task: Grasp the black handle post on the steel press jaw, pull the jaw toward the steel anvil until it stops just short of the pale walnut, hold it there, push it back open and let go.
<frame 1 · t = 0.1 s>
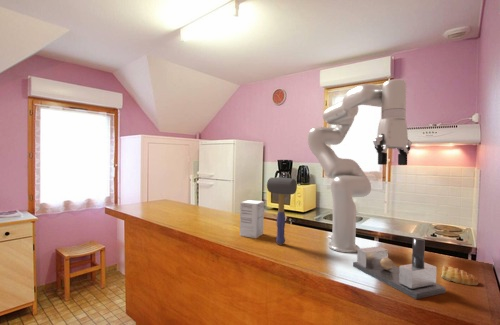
hand: (392, 164, 93), 37 cm above the countertop, tool pointing down, fingers open, 9 cm apart
walnut: (386, 263, 89), point 3 cm above the countertop, touching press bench
rubber mallet: (280, 244, 119), on the countertop
pastry: (456, 280, 86), on the countertop
supplement box: (251, 235, 134), on the countertop
press jaw: (418, 261, 78), point 8 cm above the countertop, slide at 0.0 cm
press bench: (394, 278, 86), on the countertop
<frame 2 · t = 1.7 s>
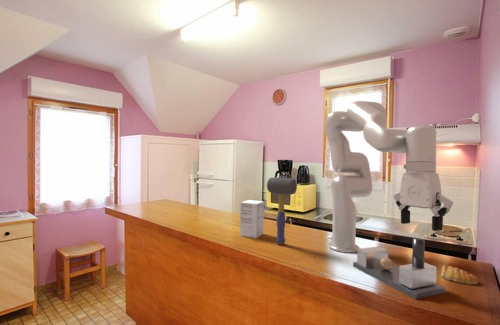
hand: (420, 226, 78), 19 cm above the countertop, tool pointing down, fingers open, 9 cm apart
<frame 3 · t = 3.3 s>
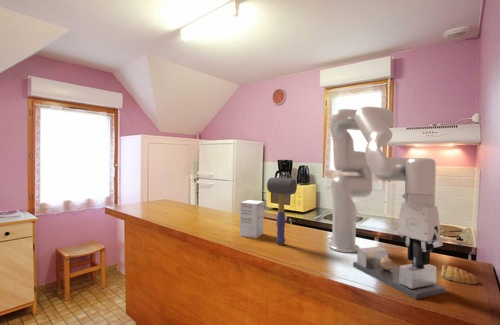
hand: (418, 261, 78), 8 cm above the countertop, tool pointing down, fingers closed on press jaw, 3 cm apart
press jaw: (418, 261, 78), point 8 cm above the countertop, slide at 0.0 cm, touching gripper
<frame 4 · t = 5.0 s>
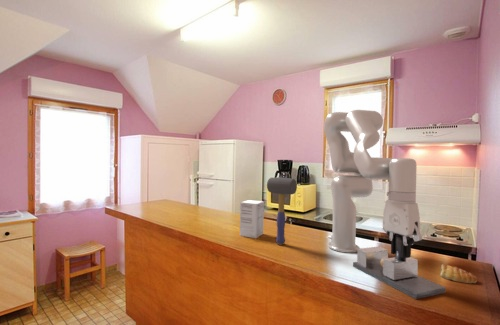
hand: (400, 254, 84), 8 cm above the countertop, tool pointing down, fingers closed on press jaw, 3 cm apart
press jaw: (400, 254, 84), point 8 cm above the countertop, slide at 5.9 cm, touching gripper
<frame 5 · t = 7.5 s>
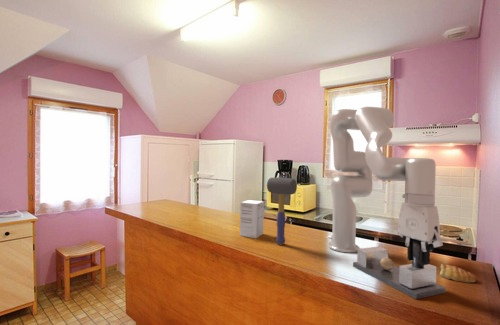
hand: (418, 261, 78), 8 cm above the countertop, tool pointing down, fingers closed on press jaw, 3 cm apart
press jaw: (418, 261, 78), point 8 cm above the countertop, slide at 0.0 cm, touching gripper
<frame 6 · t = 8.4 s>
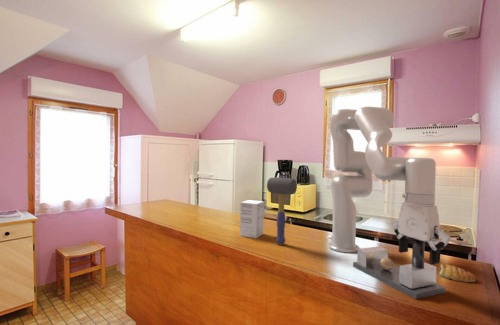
hand: (418, 257, 78), 9 cm above the countertop, tool pointing down, fingers open, 9 cm apart
press jaw: (418, 261, 78), point 8 cm above the countertop, slide at 0.0 cm
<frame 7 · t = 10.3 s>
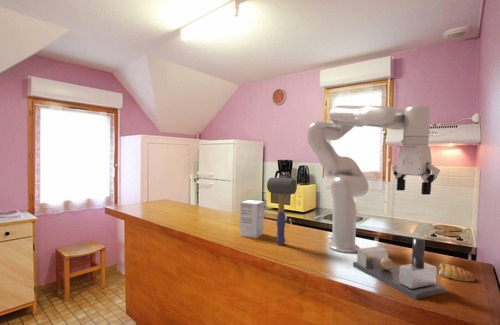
hand: (412, 192, 91), 27 cm above the countertop, tool pointing down, fingers open, 9 cm apart
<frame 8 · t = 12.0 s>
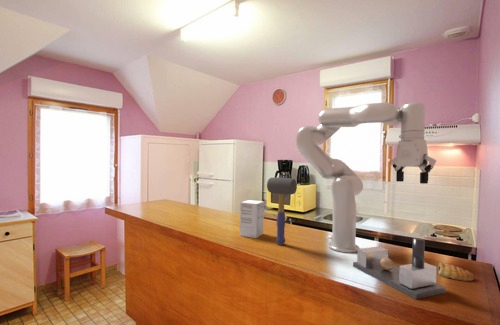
hand: (411, 182, 99), 30 cm above the countertop, tool pointing down, fingers open, 9 cm apart
at the end: press jaw slide at 0.0 cm; walnut moved 0.0 cm from its start; the gripper is holding nothing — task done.
